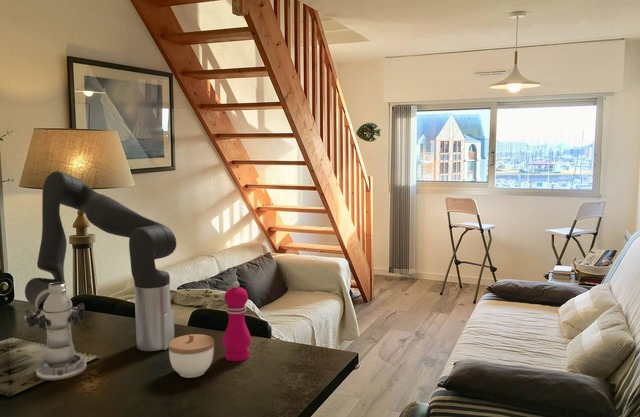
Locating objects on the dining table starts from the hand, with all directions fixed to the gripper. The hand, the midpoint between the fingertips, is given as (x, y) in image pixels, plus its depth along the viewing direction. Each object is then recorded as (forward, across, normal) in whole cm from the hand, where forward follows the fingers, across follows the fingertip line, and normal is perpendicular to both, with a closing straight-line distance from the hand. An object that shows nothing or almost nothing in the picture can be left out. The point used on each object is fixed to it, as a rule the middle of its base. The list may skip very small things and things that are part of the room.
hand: (59, 323), depth 126 cm
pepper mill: (+13, +40, +12) cm, 44 cm away
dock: (-2, 0, +13) cm, 13 cm away
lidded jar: (+16, +27, +12) cm, 34 cm away
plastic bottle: (-2, 0, +11) cm, 11 cm away
